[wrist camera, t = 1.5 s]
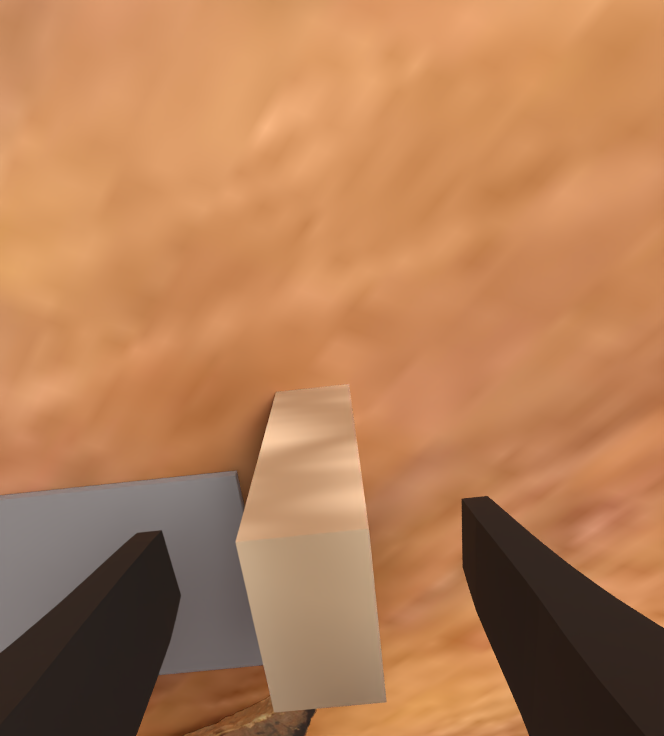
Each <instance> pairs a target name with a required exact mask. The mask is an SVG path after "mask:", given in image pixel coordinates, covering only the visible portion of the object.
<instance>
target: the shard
mask: <svg viewBox="0 0 664 736" xmlns="http://www.w3.org/2000/svg"><path fill="white" fill-rule="evenodd" d="M316 710H317V709H307V710H296V711H285V712H274V710H273V705H272V701H271V697H270V696H269V697H268V698H266V699H265V700H262V701H260V702H258V703H257V704H255V705H253V706H251V707H248V708H246V709H244V710H242V711H239V712H236V713H235V714H234V715H232V716H228V717H225V718H224V719H222V720H221V721H220V722H219V723H217V724H213V725H210V726H206V727H204V728H202V729H199V730H196V731H194V732H192V733H187V734H185V735H183V736H306V733H307V730H308V726H309V725H310V721H311V718H312V717H313V716H314V714H315V713H316Z"/></svg>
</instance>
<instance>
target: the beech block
mask: <svg viewBox="0 0 664 736" xmlns="http://www.w3.org/2000/svg"><path fill="white" fill-rule="evenodd" d="M236 547H237V551H238V556H239V560H240V564H241V569H242V573H243V578H244V582H245V586H246V591H247V595H248V600H249V604H250V608H251V613H252V617H253V622H254V626H255V630H256V635H257V639H258V644H259V648H260V653H261V657H262V661H263V666H264V670H265V675H266V679H267V683H268V688H269V692H270V697H271V701H272V705H273V710H274V712H285V711H296V710H307V709H318V708H329V707H340V706H351V705H362V704H373V703H383V702H386V692H385V683H384V673H383V663H382V653H381V643H380V633H379V624H378V614H377V604H376V594H375V584H374V575H373V565H372V555H371V545H370V535H369V526H368V519H367V512H366V504H365V497H364V490H363V483H362V475H361V468H360V461H359V453H358V446H357V439H356V431H355V424H354V417H353V409H352V402H351V395H350V387H349V384H345V385H335V386H326V387H317V388H308V389H299V390H289V391H280V392H276V394H275V398H274V402H273V405H272V409H271V413H270V416H269V420H268V424H267V427H266V431H265V435H264V439H263V442H262V446H261V450H260V453H259V457H258V461H257V464H256V468H255V472H254V475H253V479H252V483H251V487H250V490H249V494H248V498H247V501H246V505H245V509H244V512H243V516H242V520H241V523H240V527H239V531H238V534H237V538H236Z"/></svg>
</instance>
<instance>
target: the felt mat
mask: <svg viewBox="0 0 664 736" xmlns="http://www.w3.org/2000/svg"><path fill="white" fill-rule="evenodd" d="M244 509H245V507H244V502H243V498H242V493H241V488H240V483H239V479H238V474H237V471H228V472H219V473H209V474H200V475H190V476H181V477H171V478H162V479H152V480H143V481H133V482H123V483H114V484H104V485H95V486H85V487H76V488H66V489H57V490H47V491H38V492H28V493H19V494H9V495H0V653H1V652H2V651H3V650H4V649H6V648H7V647H8V646H9V645H11V644H12V643H13V642H14V641H15V640H17V639H18V638H19V637H20V636H21V635H22V634H24V633H25V632H26V631H27V630H28V629H29V628H31V627H32V626H33V625H34V624H35V623H36V622H38V621H39V620H40V619H41V618H42V617H43V616H45V615H46V614H47V613H48V612H49V611H51V610H52V609H53V608H54V607H55V606H56V605H58V604H59V603H60V602H61V601H62V600H63V599H64V598H65V597H66V596H68V595H69V594H70V593H71V592H72V591H73V590H74V589H75V588H76V587H77V586H79V585H80V584H81V583H82V582H83V581H84V580H85V579H86V578H87V577H88V576H90V575H91V574H92V573H93V572H94V571H95V570H96V569H97V568H98V567H99V566H100V565H101V564H103V563H104V562H105V561H106V560H107V559H108V558H109V557H110V556H111V555H112V554H113V553H114V552H116V551H117V550H118V549H119V548H120V547H121V546H122V545H123V544H124V543H126V542H127V541H128V540H129V539H130V538H131V537H133V536H134V535H135V534H136V533H140V532H149V531H159V530H162V532H163V536H164V539H165V542H166V546H167V549H168V553H169V556H170V559H171V563H172V566H173V570H174V573H175V576H176V580H177V583H178V587H179V590H180V593H181V598H180V603H179V608H178V612H177V617H176V621H175V625H174V629H173V633H172V637H171V641H170V644H169V647H168V649H167V652H166V655H165V658H164V661H163V664H162V666H161V669H160V672H159V675H165V674H175V673H186V672H196V671H207V670H218V669H228V668H239V667H249V666H260V665H263V661H262V657H261V653H260V648H259V644H258V639H257V635H256V630H255V626H254V622H253V617H252V613H251V608H250V604H249V600H248V595H247V591H246V586H245V582H244V578H243V573H242V569H241V564H240V560H239V556H238V551H237V547H236V538H237V534H238V531H239V527H240V523H241V520H242V516H243V512H244Z"/></svg>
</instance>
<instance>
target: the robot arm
mask: <svg viewBox="0 0 664 736" xmlns="http://www.w3.org/2000/svg"><path fill="white" fill-rule="evenodd" d="M462 554H463V570H464V573H465V576H466V580H467V583H468V586H469V590H470V593H471V596H472V599H473V602H474V605H475V609H476V611H477V614H478V616H479V618H480V621H481V623H482V626H483V628H484V630H485V633H486V635H487V637H488V640H489V642H490V644H491V646H492V649H493V651H494V653H495V656H496V658H497V660H498V663H499V665H500V667H501V669H502V672H503V674H504V676H505V679H506V681H507V683H508V686H509V688H510V690H511V692H512V695H513V697H514V699H515V702H516V704H517V706H518V709H519V711H520V713H521V716H522V718H523V721H524V723H525V726H526V728H527V731H528V733H529V736H664V628H663V627H661V626H660V625H658V624H656V623H655V622H653V621H652V620H650V619H648V618H647V617H645V616H644V615H642V614H641V613H639V612H637V611H636V610H634V609H633V608H631V607H630V606H628V605H626V604H625V603H623V602H622V601H620V600H619V599H617V598H616V597H614V596H613V595H611V594H610V593H608V592H607V591H605V590H604V589H602V588H601V587H600V586H598V585H597V584H596V583H594V582H593V581H591V580H590V579H589V578H587V577H586V576H584V575H583V574H582V573H580V572H579V571H578V570H576V569H575V568H573V567H572V566H571V565H570V564H568V563H567V562H566V561H564V560H563V559H562V558H561V557H559V556H558V555H557V554H556V553H554V552H553V551H552V550H551V549H549V548H548V547H547V546H546V545H544V544H543V543H542V542H541V541H539V540H538V539H537V538H536V537H535V536H533V535H532V534H531V533H530V532H529V531H528V530H526V529H525V528H524V527H523V526H522V525H520V524H519V523H518V522H517V521H516V520H515V519H514V518H512V517H511V516H510V515H509V514H508V513H507V512H505V511H504V510H503V509H502V508H501V507H500V506H499V505H497V504H496V503H495V502H494V501H493V500H492V499H490V498H489V497H488V496H484V497H474V498H464V499H462ZM180 598H181V593H180V590H179V587H178V583H177V580H176V576H175V573H174V570H173V566H172V563H171V559H170V556H169V553H168V549H167V546H166V542H165V539H164V536H163V532H162V530H159V531H149V532H140V533H136V534H135V535H134V536H133V537H131V538H130V539H129V540H128V541H127V542H126V543H124V544H123V545H122V546H121V547H120V548H119V549H118V550H117V551H116V552H114V553H113V554H112V555H111V556H110V557H109V558H108V559H107V560H106V561H105V562H104V563H103V564H101V565H100V566H99V567H98V568H97V569H96V570H95V571H94V572H93V573H92V574H91V575H90V576H88V577H87V578H86V579H85V580H84V581H83V582H82V583H81V584H80V585H79V586H77V587H76V588H75V589H74V590H73V591H72V592H71V593H70V594H69V595H68V596H66V597H65V598H64V599H63V600H62V601H61V602H60V603H59V604H58V605H56V606H55V607H54V608H53V609H52V610H51V611H49V612H48V613H47V614H46V615H45V616H43V617H42V618H41V619H40V620H39V621H38V622H36V623H35V624H34V625H33V626H32V627H31V628H29V629H28V630H27V631H26V632H25V633H24V634H22V635H21V636H20V637H19V638H18V639H17V640H15V641H14V642H13V643H12V644H11V645H9V646H8V647H7V648H6V649H4V650H3V651H2V652H1V653H0V736H136V735H137V732H138V729H139V726H140V724H141V721H142V718H143V716H144V713H145V710H146V707H147V705H148V702H149V699H150V697H151V694H152V691H153V688H154V686H155V683H156V680H157V677H158V675H159V672H160V669H161V666H162V664H163V661H164V658H165V655H166V652H167V649H168V647H169V644H170V641H171V637H172V633H173V629H174V625H175V621H176V617H177V612H178V608H179V603H180Z"/></svg>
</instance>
